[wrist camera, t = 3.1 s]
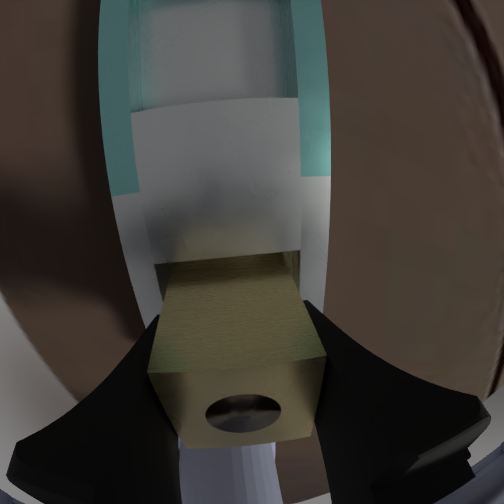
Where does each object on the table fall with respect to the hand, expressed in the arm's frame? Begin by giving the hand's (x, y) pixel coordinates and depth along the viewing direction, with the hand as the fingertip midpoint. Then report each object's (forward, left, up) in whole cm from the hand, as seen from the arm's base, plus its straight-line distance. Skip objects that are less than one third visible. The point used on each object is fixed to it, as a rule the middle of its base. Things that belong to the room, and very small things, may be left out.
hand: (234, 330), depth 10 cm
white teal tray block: (+5, 0, -4) cm, 6 cm away
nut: (0, 0, -2) cm, 2 cm away
